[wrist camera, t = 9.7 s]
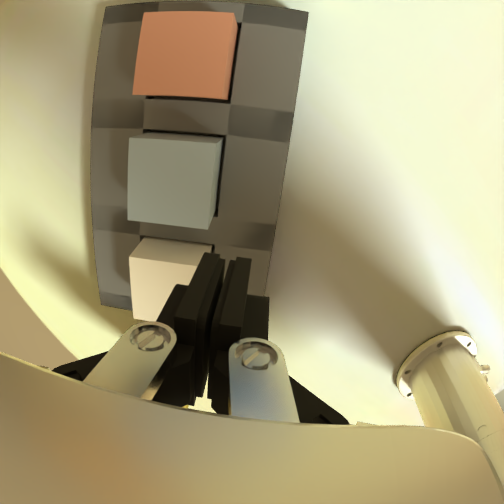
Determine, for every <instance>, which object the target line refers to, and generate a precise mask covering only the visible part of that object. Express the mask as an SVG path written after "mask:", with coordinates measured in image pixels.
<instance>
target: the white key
mask: <svg viewBox="0 0 504 504" xmlns="http://www.w3.org/2000/svg"><path fill="white" fill-rule="evenodd" d="M212 246H213V244H208V243H200V242H192V241H184V240H176V239H168V238H160V237H152V236H145V237H144V238H143V239H142V241H141V242H140V243H139V244H138V246H137V247H136V248H135V250H134V251H133V252H132V253H131V255H130V256H129V268H130V283H131V296H132V308H133V318H134V319H139V320H145V321H154V322H156V320H157V318H158V316H159V314H160V313H161V311H162V309H163V307H164V305H165V303H166V301H167V299H168V297H169V296H170V294H171V292H172V290H173V288H174V286H175V285H176V284H182V285H189V283H190V281H191V279H192V277H193V275H194V273H195V271H196V268H197V266H198V264H199V262H200V260H201V258H202V256H203V254H204V252H208V253H212Z"/></svg>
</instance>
